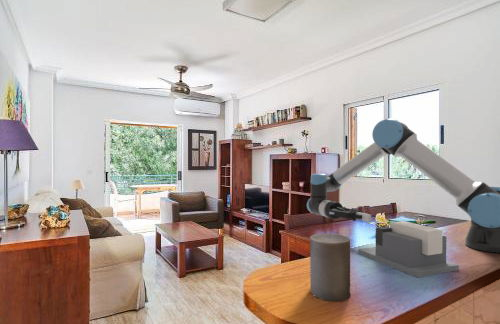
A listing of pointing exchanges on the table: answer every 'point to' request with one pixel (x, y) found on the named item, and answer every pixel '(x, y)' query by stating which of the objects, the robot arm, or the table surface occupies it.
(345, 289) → the pillar candle
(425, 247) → the peg
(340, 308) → the table surface
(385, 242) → the guide
